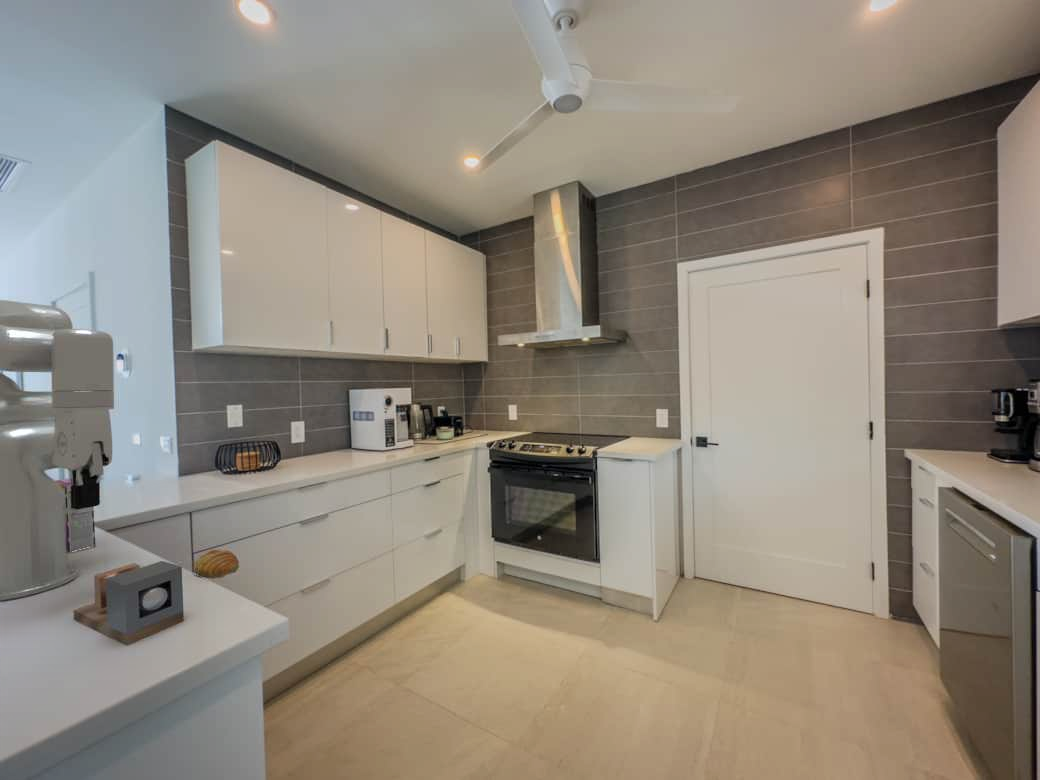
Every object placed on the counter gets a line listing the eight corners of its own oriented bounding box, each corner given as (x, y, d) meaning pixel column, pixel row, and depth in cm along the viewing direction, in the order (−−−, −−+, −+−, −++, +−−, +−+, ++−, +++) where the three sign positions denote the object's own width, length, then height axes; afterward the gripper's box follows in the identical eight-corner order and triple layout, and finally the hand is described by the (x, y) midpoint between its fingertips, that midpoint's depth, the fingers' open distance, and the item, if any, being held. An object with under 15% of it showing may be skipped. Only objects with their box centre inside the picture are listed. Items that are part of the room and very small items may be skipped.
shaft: (95, 606, 67) (94, 575, 67) (135, 592, 72) (133, 563, 72) (135, 624, 62) (134, 589, 62) (175, 607, 66) (174, 575, 66)
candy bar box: (56, 546, 106) (54, 480, 106) (84, 539, 110) (82, 476, 111) (66, 554, 100) (64, 484, 100) (96, 547, 104) (93, 480, 104)
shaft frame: (73, 619, 69) (71, 566, 69) (128, 599, 75) (127, 551, 75) (127, 645, 61) (124, 585, 61) (183, 620, 67) (181, 566, 67)
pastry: (249, 571, 86) (248, 552, 86) (210, 584, 81) (209, 564, 81) (227, 562, 91) (226, 544, 91) (189, 574, 86) (188, 555, 86)
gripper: (35, 401, 74) (37, 507, 74) (72, 403, 67) (73, 519, 67) (94, 400, 81) (95, 496, 81) (132, 401, 74) (133, 507, 74)
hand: (85, 506), depth 74 cm, fingers closed
